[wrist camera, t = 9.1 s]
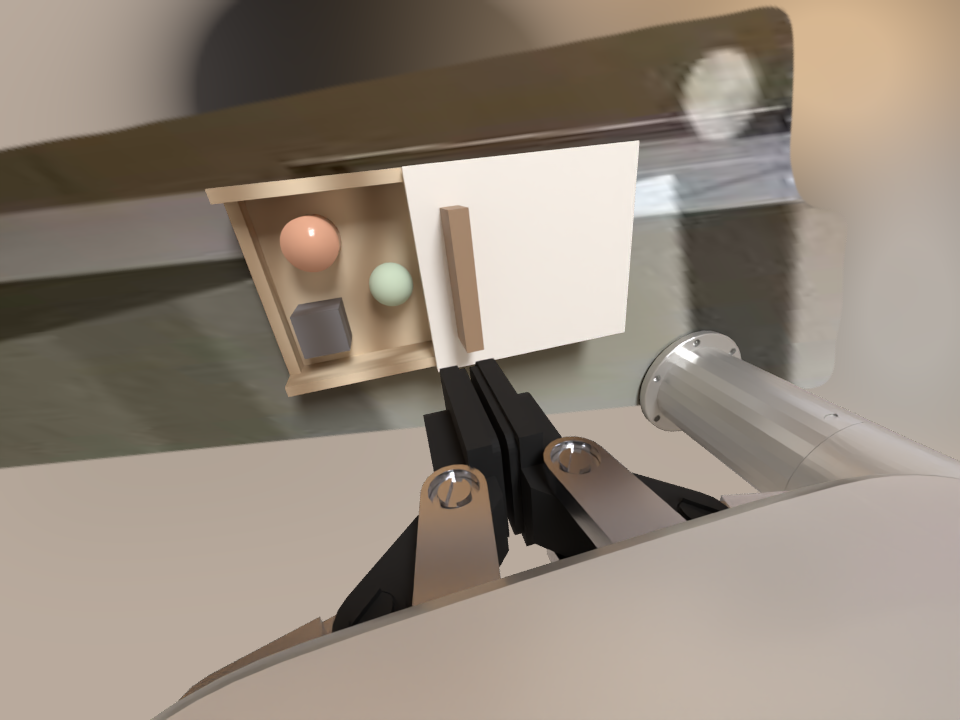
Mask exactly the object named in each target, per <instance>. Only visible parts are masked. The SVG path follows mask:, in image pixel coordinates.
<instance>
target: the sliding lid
mask: <svg viewBox="0 0 960 720" xmlns="http://www.w3.org/2000/svg"><path fill="white" fill-rule="evenodd" d="M638 151H639V141H630V142H621V143H612V144H603V145H594V146H585V147H576V148H567V149H558V150H549V151H540V152H530V153H521V154H512V155H503V156H494V157H485V158H476V159H467V160H458V161H449V162H440V163H431V164H422V165H413V166H403V167H401V170H402V176H403V182H404V187H405V193H406V198H407V204H408V209H409V215H410V221H411V226H412V232H413V237H414V243H415V248H416V254H417V260H418V265H419V271H420V276H421V282H422V287H423V293H424V299H425V304H426V310H427V315H428V321H429V326H430V332H431V338H432V343H433V349H434V354H435V360H436V365H437V369H438V372H440V369H441V368H446V367H451V366H456V365H457V366H458V368H459V367H464V366H468V365H473V364H475V362H476V361H480V360H485V359H490V358H494V360H496V359H501V358H505V357H510V356H515V355H519V354H524V353H529V352H533V351H538V350H543V349H547V348H552V347H557V346H561V345H566V344H571V343H575V342H580V341H585V340H589V339H594V338H599V337H603V336H608V335H613V334H617V333H622V332H625V319H626V306H627V293H628V280H629V267H630V254H631V241H632V229H633V216H634V203H635V190H636V177H637V164H638Z"/></svg>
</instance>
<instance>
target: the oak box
mask: <svg viewBox="0 0 960 720" xmlns="http://www.w3.org/2000/svg"><path fill="white" fill-rule="evenodd" d="M205 191H206V193H207V196H208V198H209V201H210V203H211V204H219V203H224V206H225V208H226V211H227V213H228V216H229V219H230V221H231V224H232V226H233V229H234V232H235V234H236V237H237V239H238V242H239V244H240V247H241V250H242V252H243V255H244V257H245V260H246V262H247V265H248V268H249V270H250V273H251V275H252V278H253V281H254V283H255V286H256V288H257V291H258V293H259V296H260V299H261V301H262V304H263V306H264V309H265V312H266V314H267V317H268V319H269V322H270V324H271V327H272V330H273V332H274V335H275V337H276V340H277V342H278V345H279V348H280V350H281V353H282V355H283V358H284V361H285V363H286V366H287V368H288V371H289V373H290V377H289V379H288V382H287V384H286V386H285V390H286V392H287V394H288V397H291V396H296V395H300V394H305V393H310V392H315V391H319V390H324V389H329V388H334V387H338V386H343V385H348V384H352V383H357V382H362V381H367V380H371V379H376V378H381V377H386V376H390V375H395V374H400V373H404V372H409V371H414V370H419V369H423V368H428V367H433V366H437V365H436V360H435V354H434V349H433V343H432V338H431V332H430V326H429V321H428V315H427V310H426V304H425V299H424V293H423V287H422V282H421V276H420V271H419V265H418V260H417V254H416V248H415V243H414V237H413V232H412V226H411V221H410V215H409V209H408V204H407V198H406V193H405V187H404V182H403V176H402V170H401V168H392V169H383V170H374V171H364V172H355V173H346V174H337V175H328V176H319V177H310V178H301V179H292V180H283V181H274V182H265V183H256V184H247V185H238V186H229V187H220V188H211V189H205ZM306 214H318V215H321V216H324V217H326V218H328V219H329V220H330V221H332V222H333V223H334V224H335V226H336V227H337V228H338V230H339V232H340V235H341V241H342V244H341V249H340V252H339V253H338V255H337V257H336V259H335V261H334V262H333V264H332V265H331V266H330V267H328V268H327V269H325V270H323V271H320V272H306V271H303V270H300V269H298V268H296V267H295V266H293V265H292V264H291V263H290V262H289V261H288V260H287V259H286V258H285V256H284V254H283V253H282V250H281V247H280V235H281V232H282V230H283V228H284V227H285V225H286V224H287V223H288V222H290V221H291V220H293V219H296V218H298V217H301V216H303V215H306ZM389 262H392V263H397V264H400V265H402V266H403V267H404V268H406V269H407V270H408V272H409V273H410V275H411V277H412V280H413V291H412V294H411V296H410V297H409V299H408V300H407V301H406V302H404V303H403V304H401V305H398V306H387V305H384V304H381V303H380V302H378V301H377V300H376V299H375V298H374V297H373V295H372V293H371V291H370V288H369V279H370V276H371V273H372V272H373V270H374V269H375V268H376V267H377V266H379V265H381V264H383V263H389ZM339 297H342V300H343V304H344V307H345V311H346V314H347V318H348V321H349V325H350V328H351V332H352V342H351V349H350V351H345V352H340V353H335V354H330V355H325V356H319V357H314V358H309V359H304V356H303V353H302V351H301V348H300V345H299V342H298V339H297V337H296V334H295V331H294V328H293V325H292V323H291V320H290V316H291V315H292V313H293V312H294V310H295V309H296V307H297V306H298V304H304V303H310V302H316V301H322V300H328V299H334V298H339Z"/></svg>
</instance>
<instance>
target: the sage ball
mask: <svg viewBox="0 0 960 720" xmlns="http://www.w3.org/2000/svg"><path fill="white" fill-rule="evenodd" d="M369 288H370V291H371V293H372V295H373V297H374V298H375V299H376V300H377V301H378V302H380V303H381V304H384V305H387V306H398V305H401V304H403V303H404V302H406V301H407V300H408V299H409V297H410V296H411V294H412V291H413V280H412V277H411V275H410V273H409V272H408V270H407V269H406V268H404V267H403V266H402V265H400V264H397V263H392V262H389V263H383V264H381V265H379V266H377V267H376V268H375V269H374V270H373V272H372V273H371V276H370V279H369Z"/></svg>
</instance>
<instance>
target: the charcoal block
mask: <svg viewBox="0 0 960 720" xmlns="http://www.w3.org/2000/svg"><path fill="white" fill-rule="evenodd" d="M290 320H291V323H292V325H293V328H294V331H295V334H296V337H297V339H298V342H299V345H300V348H301V351H302V353H303V356H304V359H309V358H314V357H319V356H325V355H330V354H335V353H340V352H345V351H350V349H351V342H352V332H351V328H350V325H349V321H348V318H347V314H346V311H345V307H344V304H343V300H342V297H339V298H334V299H328V300H322V301H316V302H310V303H304V304H298V306H297V307H296V309H295V310H294V312H293V313H292V315H291V316H290Z"/></svg>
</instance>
